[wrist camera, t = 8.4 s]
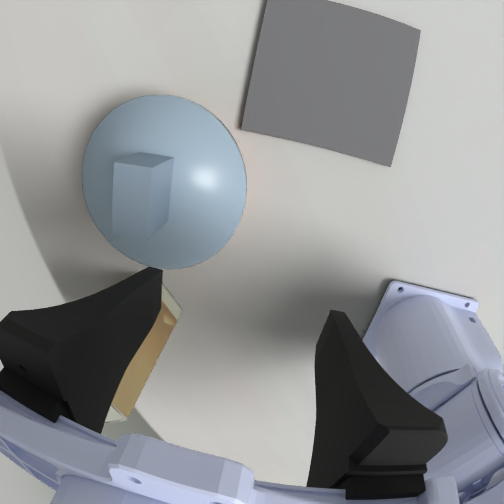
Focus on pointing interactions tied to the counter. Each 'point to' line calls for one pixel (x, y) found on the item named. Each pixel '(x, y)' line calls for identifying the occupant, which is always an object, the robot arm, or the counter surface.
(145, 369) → the skincare box
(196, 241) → the lid
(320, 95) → the mat
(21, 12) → the counter surface
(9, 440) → the robot arm
